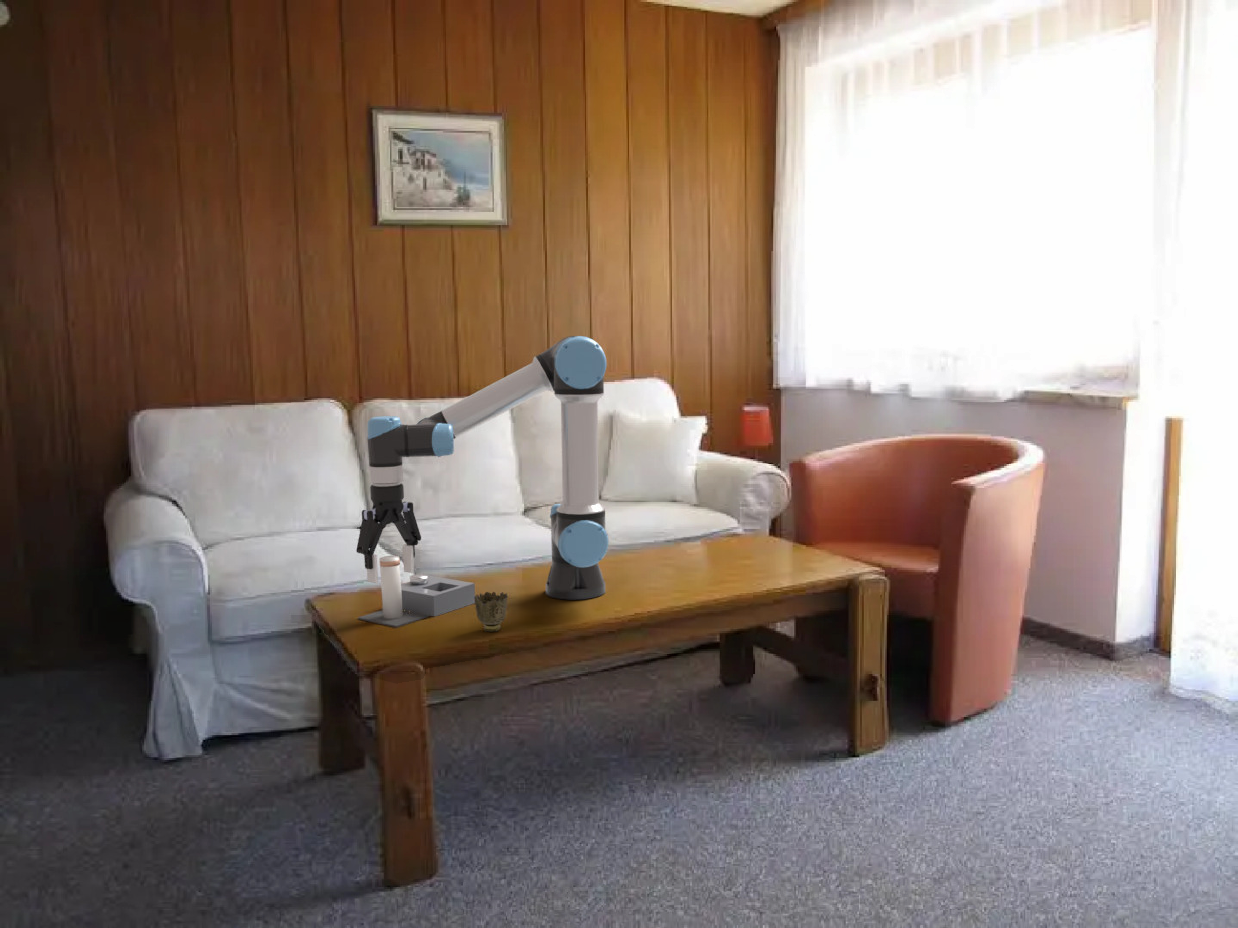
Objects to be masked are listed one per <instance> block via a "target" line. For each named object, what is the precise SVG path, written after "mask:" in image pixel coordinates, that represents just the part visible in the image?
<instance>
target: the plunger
mask: <svg viewBox="0 0 1238 928" xmlns="http://www.w3.org/2000/svg"><path fill="white" fill-rule="evenodd" d="M428 576H429V575H427V574H424V573H421V574H418V573H417V574H413V575H409V582H410V584H415V585H420V584H425V583H428Z"/></svg>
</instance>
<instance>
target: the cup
mask: <svg viewBox="0 0 1238 928" xmlns="http://www.w3.org/2000/svg"><path fill="white" fill-rule="evenodd" d="M508 597H509V596H508V594H507V593H504V592H503V591H502V592H500V593H499V594H496V592H495V591H492V593H491V592H489V591H486V592H485V593H483V594H482V593H479V594H475V597H474V599H475V603H474V605H475V611H476V616H477V618H478V621H479V622H480V623H481V624H483V629H484V631H486V632H489V633H493V632H498V631H499V630H500V628H501V623H502V622H503V621H504V620H505V619H506V615H507V610H508V609H507V608H508Z"/></svg>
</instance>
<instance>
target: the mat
mask: <svg viewBox="0 0 1238 928" xmlns="http://www.w3.org/2000/svg"><path fill="white" fill-rule="evenodd" d="M427 618H429V615H424V614H419V613H414V612H409V611H404V610H403V616H402V617H400V618H396V619H385V618H384V617H383V609H381V610H378V611H374V612H371V613H368V614H365V615H361V616H358V617H357V619H358V620H360V621H365V622H370V623H374V624H379V625H383V626H387V627H391V628H397V629H398V628H400V627H403V626H405V625H408V624H411V623H415V622H417V621H418V622H419V621H421V620H423V619H427Z"/></svg>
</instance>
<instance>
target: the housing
mask: <svg viewBox="0 0 1238 928" xmlns="http://www.w3.org/2000/svg"><path fill="white" fill-rule="evenodd" d="M475 585H476V584H475V582H469V581H463V580H459V579H458V580H457V579H454V578H453V579H452V578H446V577H440V576H434V575H428V583H425V584H420V585H415V584H410V581H409V582H405V583H401V592H402V608H403V610H405V611H410V612H414V613H419V614H424V615H428V617H429V616H430V617H433V616H434V617H433V618H435V617H438V616H441V615H443V614H447V613H450V612H453V611H456V610H458V609H462V608H465V607H468V606H470V605H473V604H474V605H475V599H474V597H475V596H476V590H475V589H476V586H475Z"/></svg>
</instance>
